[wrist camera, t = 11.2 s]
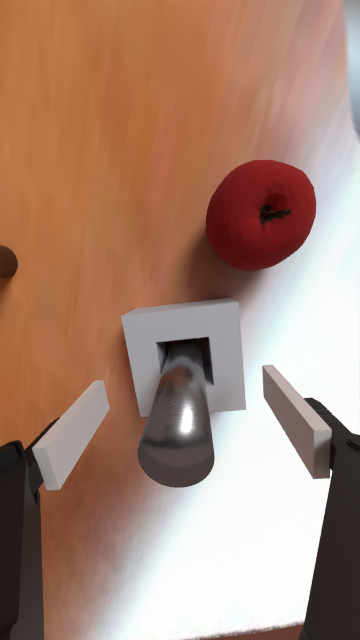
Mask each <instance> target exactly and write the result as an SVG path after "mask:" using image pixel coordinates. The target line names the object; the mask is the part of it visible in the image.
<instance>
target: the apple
mask: <svg viewBox="0 0 360 640" xmlns="http://www.w3.org/2000/svg"><path fill="white" fill-rule="evenodd" d="M315 215H316V198H315V192H314V187H313V185H312V184H311V182H310V180H309V179H308V177H307V175H306V174H305V173H304V172H303V171H301V170H299V169H297V168H295V167H293V166H291V165H288V164H285V163H281V162H277V161H273V160H253V161H250V162H247V163H244V164H242V165H240V166H238V167H237V168H235V169H234V170H233V171H231V172H230V173H229V174H228V175H227V176H226V177H225V178H224V180H223V181H222V182H221V184H220V185H219V186H218V188H217V189H216V191H215V192H214V194H213V196H212V198H211V201H210V203H209V206H208V209H207V216H206V233H207V238H208V241H209V243H210V245H211V247H212V248H213V250H214V251H215V253H216V254H217V256H218V257H219V258H220V259H221V260H223V261H224V262H225V263H227V264H228V265H230V266H232V267H234V268H237V269H240V270H244V271H254V270H260V269H264V268H268V267H272V266H274V265H276V264H278V263H280V262H281V261H283V260H284V259H286V258H287V257H289V256H290V255H291V254H293V253H294V252H295V251H297V250H298V249H299V248H300V247H301V246H302V244H303V243H304V242H305V240H306V238H307V237H308V235H309V233H310V231H311V228H312V225H313V222H314V219H315Z"/></svg>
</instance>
